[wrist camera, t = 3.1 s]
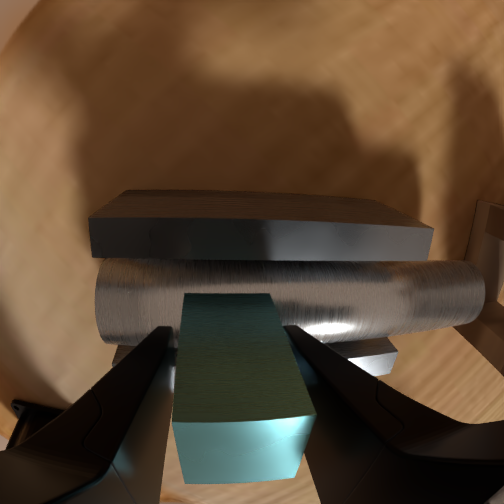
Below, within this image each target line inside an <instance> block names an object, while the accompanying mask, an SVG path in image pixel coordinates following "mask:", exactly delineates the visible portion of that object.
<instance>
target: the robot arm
mask: <svg viewBox="0 0 504 504" xmlns="http://www.w3.org/2000/svg"><path fill="white" fill-rule="evenodd" d="M283 329H284V331H285V334H286V336H287V339H288V342H289V344H290V347H291V349H292V352H293V354H294V357H295V360H296V362H297V365H298V367H299V370H300V373H301V375H302V378H303V380H304V383H305V385H306V388H307V391H308V393H309V396H310V398H311V401H312V404H313V406H314V409H315V411H316V414H317V416H316V419H315V422H314V425H313V428H312V431H311V434H310V437H309V439H308V442H307V445H306V448H305V451H304V454H305V457H306V460H307V463H308V466H309V469H310V472H311V475H312V478H313V481H314V484H315V487H316V490H317V493H318V496H319V499H320V502H321V504H504V420H501V421H495V422H489V423H482V424H468V423H462V422H459V421H456V420H454V419H452V418H450V417H447V416H445V415H443V414H441V413H439V412H437V411H435V410H433V409H431V408H429V407H427V406H425V405H423V404H421V403H419V402H417V401H415V400H413V399H411V398H409V397H407V396H405V395H403V394H402V393H400V392H398V391H397V390H395V389H393V388H392V387H390V386H388V385H387V384H385V383H384V382H382V381H381V380H379V381H378V379H377V378H376V377H374V376H373V375H371V374H370V373H368V372H366V371H365V370H363V369H362V368H360V367H359V366H357V365H356V364H354V363H353V362H351V361H350V360H348V359H346V358H345V357H343V356H342V355H340V354H339V353H337V352H336V351H334V350H333V349H331V348H330V347H328V346H327V345H325V344H324V343H322V342H321V341H319V340H318V339H316V338H315V337H313V336H312V335H310V334H309V333H307V332H306V331H305V330H303V329H302V328H300V327H299V326H297V325H284V326H283ZM174 366H175V347H174V335H173V328H172V327H171V326H157V327H156V328H155V329H154V330H153V331H152V332H151V333H150V334H149V335H147V336H146V337H145V338H144V339H143V340H142V341H141V342H140V343H139V344H138V345H137V346H136V347H134V348H133V349H132V350H131V351H130V352H129V353H128V354H127V355H126V356H125V357H124V358H123V359H121V360H120V361H119V362H118V363H117V364H116V365H115V366H114V367H113V368H112V369H111V370H110V371H109V372H107V373H106V374H105V375H104V376H103V377H102V378H101V379H100V380H99V381H98V382H97V383H96V384H95V385H94V386H92V387H91V389H89V390H88V391H87V392H86V393H85V394H84V395H83V396H82V397H80V398H79V399H78V400H77V401H76V402H75V403H74V404H72V405H71V406H70V407H69V408H68V409H67V410H65V411H63V410H58V409H53V408H48V407H43V406H39V405H35V404H30V403H26V402H22V401H19V400H13V401H12V403H11V407H12V409H13V410H14V412H15V414H16V415H17V417H18V422H17V424H16V426H15V428H14V430H13V433H12V435H11V437H10V440H9V442H8V444H7V447H6V449H5V450H4V451H0V504H159V501H160V492H161V484H162V476H163V468H164V460H165V453H166V446H167V439H168V432H169V426H170V419H171V413H172V406H173V396H174Z"/></svg>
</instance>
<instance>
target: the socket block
mask: <svg viewBox="0 0 504 504" xmlns="http://www.w3.org/2000/svg"><path fill="white" fill-rule="evenodd" d="M465 261H470V262H472V263H473V264H475V265H476V266H477V268H478V269H479V270H480V272H481V274H482V276H483V279H484V283H485V301H484V305H483V308H482V310H481V312H480V314H479V315H478V316H477V318H476V319H475V320H473V321H472V322H470V323H467V324H462V325H457V326H452V327H454V328H455V329H456V330H457V331H458V332H459V333H460V334H461V335H462V336H463V337H464V338H465V339H466V340H467V341H468V342H469V343H470V344H472V345H473V346H474V347H475V348H476V349H477V350H478V351H479V352H480V353H481V354H482V355H483V356H484V357H485V358H486V359H487V360H488V361H489V362H490V363H491V364H492V365H493V366H494V367H495V368H496V369H497V370H498V371H499V372H500V373H501V374H502V375H503V376H504V306H502V305H501V304H500V303H498V302H497V299H498V297H499V294H500V291H501V288H502V285H503V282H504V206H503V205H499V204H494V203H490V202H485V201H480V200H478V201H477V207H476V212H475V217H474V222H473V227H472V231H471V236H470V240H469V244H468V248H467V252H466V256H465Z"/></svg>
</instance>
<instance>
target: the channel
mask: <svg viewBox="0 0 504 504" xmlns="http://www.w3.org/2000/svg"><path fill="white" fill-rule="evenodd" d="M88 220H89V232H90V242H91V251H92V258H137V259H202V260H297V261H427V258H428V254H429V250H430V245H431V241H432V236H433V232H434V228H432V227H430V226H428V225H426V224H424V223H422V222H420V221H418V220H416V219H414V218H411V217H409V216H407V215H405V214H403V213H401V212H399V211H397V210H395V209H392V208H390V207H388V206H386V205H384V204H382V203H379V202H377V201H375V200H365V199H354V198H342V197H329V196H316V195H301V194H284V193H265V192H241V191H206V190H126V191H125V192H123V193H122V194H121V195H119V196H118V197H116V198H115V199H113V200H112V201H111V202H109V203H108V204H106V205H105V206H104V207H102V208H101V209H100V210H98V211H97V212H95V213H94V214H93V215H91V216H90V217H89V218H88ZM324 344H325V345H327V346H328V347H330V348H331V349H333V350H334V351H336V352H337V353H339V354H340V355H342V356H343V357H345V358H346V359H348V360H350V361H351V362H353V363H354V364H356V365H357V366H359V367H360V368H362V369H363V370H365V371H366V372H368V373H370V374H371V375H373V376H378V375H384V374H389V373H390V372H391V369H392V367H393V364H394V362H395V359H396V357H397V354H398V351H397V349H396V348H395V347H394V345H393V344H392V343H391V342H390V341H389V339H388V338H387V337H380V338H372V339H363V340H354V341H344V342H333V343H324ZM134 347H136V346H129V345H118V347H117V350H116V353H115V356H114V358H113V361H112V366H113V367H114V366H115V365H116V364H117V363H118V362H119V361H120V360H121V359H123V358H124V357H125V356H126V355H127V354H128V353H129V352H130V351H131V350H132V349H133V348H134ZM177 352H178V348H177V347H175V366H174V385H175V373H176V362H177Z"/></svg>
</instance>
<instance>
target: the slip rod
mask: <svg viewBox="0 0 504 504" xmlns="http://www.w3.org/2000/svg"><path fill="white" fill-rule="evenodd" d="M484 301H485V283H484V279H483V276H482V274H481V272H480V270H479V269H478V268H477V266H476V265H475V264H473V263H472V262H470V261H465V260H427V261H297V260H202V259H137V258H106V259H105V260H104V261H103V263H102V264H101V267H100V269H99V273H98V276H97V281H96V289H95V314H96V321H97V326H98V330H99V333H100V336H101V338H102V340H103V341H104V342H105V343H106V344H114V345H129V346H137V345H138V344H139V343H140V342H141V341H142V340H143V339H144V338H145V337H146V336H147V335H149V334H150V333H151V332H152V331H153V330H154V329H155V328H156V327H157V326H171V327H172V328H173V335H174V347H177V348H178V352H177V362H176V373H175V385H174V398H173V412H172V426H173V431H174V436H175V441H176V446H177V451H178V455H179V460H180V465H181V469H182V473H183V478H184V482H185V484H228V483H246V482H259V481H269V480H278V479H286V478H293V477H295V475H296V472H297V469H298V467H299V464H300V462H301V459H302V456H303V453H304V451H305V448H306V445H307V442H308V439H309V437H310V434H311V431H312V428H313V425H314V422H315V419H316V416H317V414H316V411H315V409H314V406H313V404H312V401H311V398H310V396H309V393H308V391H307V388H306V385H305V383H304V380H303V378H302V375H301V373H300V370H299V367H298V365H297V362H296V360H295V357H294V354H293V352H292V349H291V347H290V344H289V342H288V339H287V336H286V334H285V331H284V329H283V326H284V325H297V326H299V327H300V328H302V329H303V330H305V331H306V332H307V333H309V334H310V335H312V336H313V337H315V338H316V339H318V340H319V341H321V342H322V343H333V342H344V341H354V340H363V339H372V338H380V337H388V336H395V335H403V334H410V333H416V332H423V331H429V330H435V329H441V328H446V327H452V326H457V325H462V324H467V323H470V322H472V321H473V320H475V319H476V318H477V316H478V315H479V314H480V312H481V310H482V308H483V305H484Z"/></svg>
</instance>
